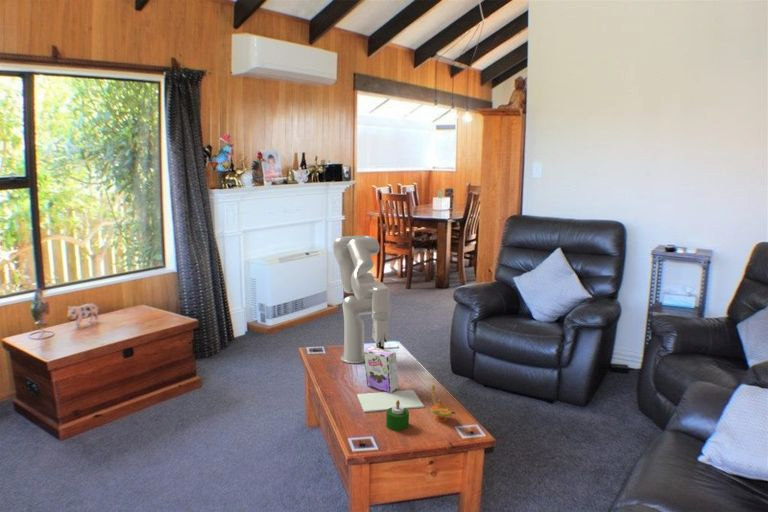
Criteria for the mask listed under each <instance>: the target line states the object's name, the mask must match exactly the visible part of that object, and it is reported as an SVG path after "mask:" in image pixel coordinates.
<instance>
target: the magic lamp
mask: <svg viewBox="0 0 768 512" xmlns="http://www.w3.org/2000/svg"><path fill="white" fill-rule="evenodd" d="M435 390H436V386H435V385H434V384H433V385H432V386H431V394H430V395H431V399H432V401H433V405H432V406H431V413H433V414H434V415H435V416H433V420H434V421H435V422H437V423H438V422H440V423H441V422H442V423H443V422H446V421H447V420H448V418H447V417H449V416H452V415H457V412H456V411H451V408H450V407H449V406H448V405H445V404H443V403H442V400H441V399H438V400H436V397H435V393H434V392H435Z"/></svg>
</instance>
